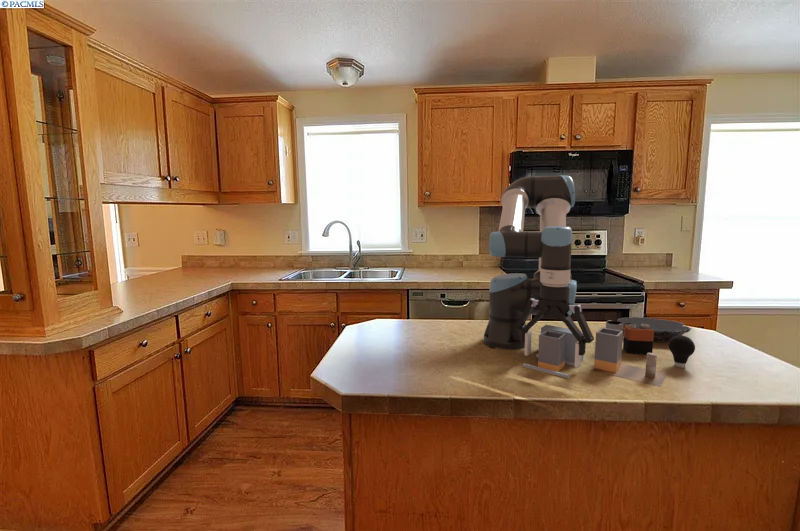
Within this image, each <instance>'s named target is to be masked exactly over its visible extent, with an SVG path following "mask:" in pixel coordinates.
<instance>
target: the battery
mask: <svg viewBox="0 0 800 531" xmlns="http://www.w3.org/2000/svg"><path fill="white" fill-rule="evenodd" d="M653 338H654V330H653V329H651V328H650V327H649V325H648V324H641V326H636V325H634V324H630V325H625V326H624V328H623V340H622V351H624V352H625V353H626V354H627V355H645V356H647V353H653V350H654V341H653Z"/></svg>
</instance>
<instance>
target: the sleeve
mask: <svg viewBox="0 0 800 531" xmlns="http://www.w3.org/2000/svg"><path fill="white" fill-rule="evenodd" d="M565 348H566V334H563V333H558V332H553V331H547V330H546V331H545V332H543V333H542V334H541V333H539V335H538V353H537V354H538V357H537V367H541V368H545V369H549V370H553V371H557V372H560V371H561V370H562V369H563V368H564V367H565V365H566V364H565Z"/></svg>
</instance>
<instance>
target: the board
mask: <svg viewBox="0 0 800 531" xmlns="http://www.w3.org/2000/svg"><path fill="white" fill-rule="evenodd" d="M616 321H620V322H622V323H623V329H624V326H625V325H630V324H634V325H636V326H641V324H648V325H649V327H650V328H651V329H653V330H654V338H653V342H658V343H659V342H661V343H663V342H669V341H670V340H671V339H672V338H673V337H675V336H679V335H682V336H684V335H685V334H687V333H689V332H690V331H691V330H692V327H689V326H686V324H685V323H682V322H679V321H674V320H668V319H661V318H653V317H643V316H642V317H641V316H640V317H639V316H632V317H621V318H618V319H617V320H616Z"/></svg>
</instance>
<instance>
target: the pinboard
mask: <svg viewBox="0 0 800 531" xmlns="http://www.w3.org/2000/svg"><path fill="white" fill-rule="evenodd" d="M657 361H658V354H657V353H653V352H652V353H647V355H646V361H645V368H644V367H639V366H633V365H631V364H630V365H629V364H626V363H621V367H620V368H619V369H618V371H617V372H616V373H615V372H611V371H607V370H602V369H598V368H594V366H593V367H592V368H591V369H590V371H593V372H596V373H601V374H605V375H608V376H609V375H610V376H614V377H618V378H622V379H625V380H626V379H627V380H631V381H634V382H640V383H644V384H648V385H652V386H656V387H659V388H661V387H662V385H663V384H664V381H665V379H666V376H667V375H668V373H667V372H663V371H657Z"/></svg>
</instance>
